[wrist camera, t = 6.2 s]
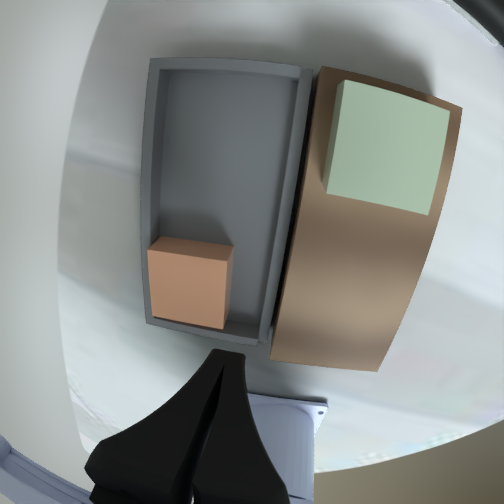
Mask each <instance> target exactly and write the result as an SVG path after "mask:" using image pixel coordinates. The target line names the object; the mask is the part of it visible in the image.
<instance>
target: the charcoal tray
mask: <svg viewBox="0 0 504 504" xmlns="http://www.w3.org/2000/svg"><path fill="white" fill-rule="evenodd" d="M312 75H313V70H310V69H304V68H301V66H296V65H289V64H282V63H274V62H265V61H255V60H242V59H227V58H191V57H187V58H151V59H150V65H149V73H148V82H147V91H146V101H145V112H144V125H143V140H142V161H141V256H142V276H143V292H144V305H145V317H146V323H147V324H151V325H155V326H159V327H163V328H167V329H172V330H176V331H180V332H185V333H190V334H194V335H199V336H204V337H208V338H213V339H218V340H224V341H229V342H234V343H240V344H245V345H251V346H257V341H258V342H264V343H267V339H268V334H269V329H270V324H271V319H272V314H273V309H274V304H275V299H276V294H277V289H278V283H279V278H280V273H281V267H282V262H283V257H284V251H285V246H286V240H287V235H288V229H289V223H290V217H291V212H292V206H293V200H294V194H295V188H296V182H297V176H298V170H299V163H300V157H301V151H302V144H303V138H304V131H305V124H306V118H307V111H308V104H309V97H310V90H311V82H312ZM160 236H164V237H171V238H179V239H186V240H193V241H200V242H208V243H215V244H222V245H229V246H234V255H233V268H232V281H231V295H230V309H229V313H228V316H227V319H226V322H225V325H224V328H223V329H218V328H213V327H207V326H201V325H196V324H191V323H186V322H181V321H176V320H171V319H166V318H161V317H156V316H152V307H151V296H150V284H149V271H148V254H147V249H148V248H149V247H150V246H151V245H152V244H153V243H154V242H155V241H156V240H157V239H158V238H159V237H160Z"/></svg>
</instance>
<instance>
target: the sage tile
mask: <svg viewBox="0 0 504 504" xmlns="http://www.w3.org/2000/svg"><path fill="white" fill-rule="evenodd" d="M449 115H450V111H448V110H445V109H443V108H440V107H437V106H435V105H432V104H429V103H426V102H423V101H420V100H417V99H414V98H411V97H408V96H405V95H402V94H399V93H395V92H392V91H388V90H385V89H381V88H378V87H374V86H370V85H366V84H362V83H358V82H354V81H349V80H344V81H342V82H341V83H340V84H338V85H337V92H336V99H335V105H334V112H333V119H332V125H331V132H330V138H329V144H328V150H327V156H326V161H325V167H324V173H323V178H322V185H323V187H324V189H325V192H326V193H327V194H332V195H337V196H342V197H347V198H352V199H357V200H362V201H367V202H372V203H376V204H381V205H386V206H390V207H395V208H399V209H403V210H408V211H412V212H416V213H420V214H424V215H428V214H429V210H430V206H431V203H432V199H433V195H434V191H435V187H436V183H437V179H438V174H439V170H440V165H441V160H442V156H443V150H444V145H445V140H446V134H447V128H448V122H449Z"/></svg>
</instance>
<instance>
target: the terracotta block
mask: <svg viewBox="0 0 504 504" xmlns="http://www.w3.org/2000/svg"><path fill="white" fill-rule="evenodd" d="M147 254H148V271H149V284H150V296H151V307H152V316H156V317H161V318H166V319H171V320H176V321H181V322H186V323H191V324H196V325H201V326H207V327H213V328H218V329H223V328H224V325H225V322H226V319H227V316H228V313H229V309H230V295H231V281H232V268H233V255H234V246H229V245H222V244H215V243H208V242H200V241H193V240H186V239H179V238H171V237H164V236H160V237H159V238H158V239H157V240H156V241H155V242H154V243H153V244H152V245H151V246H150V247H149V248H148V249H147Z"/></svg>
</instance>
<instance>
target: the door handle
mask: <svg viewBox="0 0 504 504" xmlns="http://www.w3.org/2000/svg"><path fill="white" fill-rule="evenodd" d="M443 1H444V2H445V3H447V4H448V5H449V6H450V7H452V8H453V9H454V10H455V11H457V12H458V13H459V14H460V15H461V16H463V17H464V18H465V19H466V20H467V21H468V22H470V23H471V24H472V25H473V26H474V27H475V28H476V29H477V30H478V31H480V32H481V33H482V34H483V35H484V36H485V37H486V38H487V39H488V40H489V41H490V42H491V43H492V44H493V45H497V44H501V45H502V46H503V47H504V0H443Z"/></svg>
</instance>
